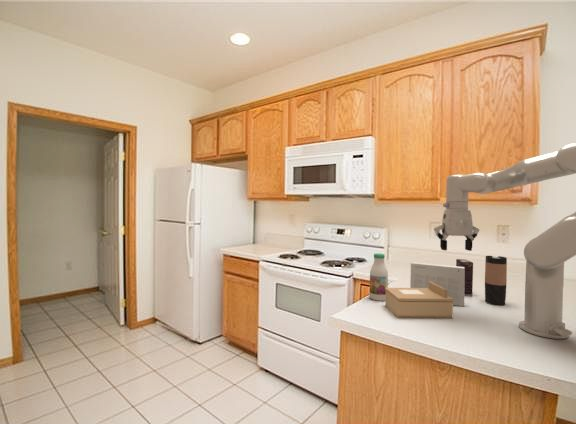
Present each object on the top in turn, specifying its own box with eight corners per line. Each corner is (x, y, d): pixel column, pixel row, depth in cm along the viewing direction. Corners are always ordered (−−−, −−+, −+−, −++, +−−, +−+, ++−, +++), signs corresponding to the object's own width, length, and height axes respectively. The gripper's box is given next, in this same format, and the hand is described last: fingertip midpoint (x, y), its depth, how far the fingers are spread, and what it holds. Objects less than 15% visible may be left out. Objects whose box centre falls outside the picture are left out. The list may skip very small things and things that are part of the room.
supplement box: (473, 296, 136) (473, 262, 136) (461, 295, 137) (462, 261, 137) (465, 291, 145) (466, 259, 145) (455, 290, 146) (455, 258, 146)
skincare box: (464, 303, 126) (465, 266, 126) (463, 307, 122) (464, 268, 122) (412, 295, 138) (412, 261, 138) (409, 297, 133) (410, 263, 133)
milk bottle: (373, 295, 137) (374, 252, 137) (390, 298, 132) (391, 254, 132) (366, 298, 131) (367, 254, 131) (383, 302, 126) (384, 256, 126)
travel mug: (496, 306, 123) (497, 258, 122) (480, 301, 130) (481, 255, 130) (510, 305, 125) (511, 258, 124) (493, 299, 132) (494, 255, 132)
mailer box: (452, 318, 109) (452, 302, 109) (398, 317, 109) (398, 301, 108) (433, 305, 123) (433, 291, 123) (385, 305, 123) (385, 290, 122)
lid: (453, 301, 109) (453, 290, 108) (398, 301, 108) (398, 290, 108) (433, 290, 123) (433, 281, 123) (385, 290, 123) (385, 280, 123)
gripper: (439, 206, 112) (439, 251, 112) (485, 206, 112) (484, 251, 112) (430, 206, 119) (429, 248, 120) (472, 206, 119) (472, 249, 120)
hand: (456, 250), depth 116 cm, fingers open, 9 cm apart
